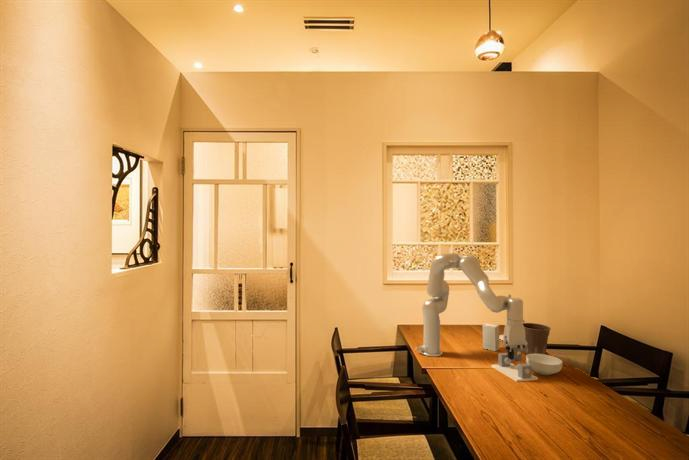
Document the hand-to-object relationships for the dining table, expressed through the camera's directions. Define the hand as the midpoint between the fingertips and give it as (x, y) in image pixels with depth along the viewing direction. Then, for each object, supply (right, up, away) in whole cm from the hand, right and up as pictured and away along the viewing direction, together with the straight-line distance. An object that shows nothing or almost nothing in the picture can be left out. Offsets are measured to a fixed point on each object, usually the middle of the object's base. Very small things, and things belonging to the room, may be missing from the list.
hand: (514, 358), depth 196 cm
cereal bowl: (+16, -8, +2) cm, 18 cm away
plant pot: (+25, -8, +31) cm, 41 cm away
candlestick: (+22, -7, +59) cm, 63 cm away
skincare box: (+2, -7, +38) cm, 39 cm away
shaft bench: (0, -8, 0) cm, 8 cm away
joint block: (0, -1, 0) cm, 1 cm away
